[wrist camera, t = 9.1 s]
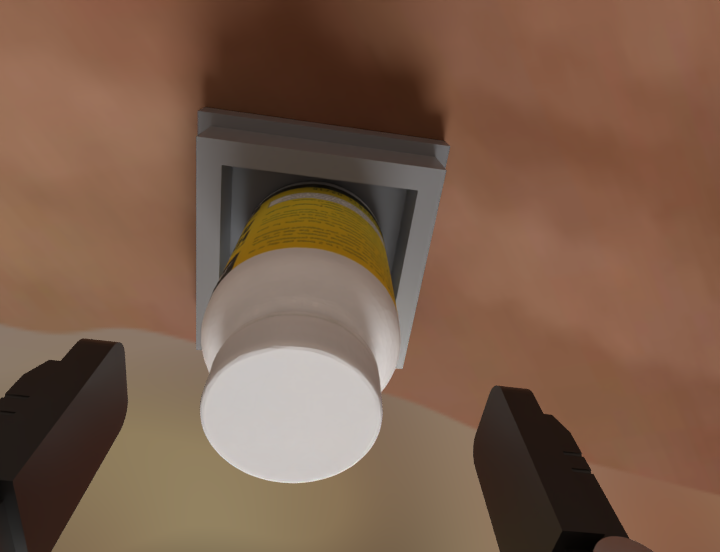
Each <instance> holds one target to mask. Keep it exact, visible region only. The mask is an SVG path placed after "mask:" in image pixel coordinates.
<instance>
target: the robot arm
mask: <svg viewBox="0 0 720 552" xmlns="http://www.w3.org/2000/svg"><path fill="white" fill-rule="evenodd" d="M127 405H128V395H127V381H126V365H125V352H124V347H123V345H122V343H120V342H111V341H102V340H93V339H81V340H79V341H78V342H77V343H76V344H75V345H74V346H73V347H72V349H71V350H70V351H69V352H68V353H67V354H66V356H65V357H64V358H63V359H62V360H61V361H55V360H48V361H47V362H45V363H43V364H41V365H39V366H38V367H36V368H34V369H32V370H31V371H29V372H27V373H25V374H24V375H23V376H22V377H21V378H20V379H19V380H18V381H17V382H16V383H15V384H14V385H13V386H12V387H11V388H10V389H9V390H8V391H7V392H6V394H5V397H4V398H1V399H0V552H51V551H52V549H53V547H54V546H55V544H56V542H57V540H58V539H59V537H60V535H61V533H62V531H63V530H64V528H65V526H66V525H67V523H68V521H69V519H70V518H71V516H72V514H73V512H74V511H75V509H76V507H77V505H78V504H79V502H80V500H81V498H82V497H83V495H84V493H85V491H86V490H87V488H88V486H89V484H90V483H91V481H92V479H93V477H94V476H95V474H96V472H97V470H98V469H99V467H100V465H101V463H102V462H103V460H104V458H105V456H106V455H107V453H108V451H109V449H110V448H111V446H112V444H113V442H114V441H115V439H116V437H117V435H118V434H119V432H120V430H121V428H122V426H123V423H124V420H125V416H126V412H127ZM581 454H582V453H581V451H580V449H579V447H578V446H577V444H576V442H575V440H574V438H573V437H572V435H571V433H570V432H569V431H568V430H567V429H566V428H565V427H564V426H563V425H562V424H561V423H560V422H559V421H558V420H557V419H556V418H555V417H553V416H552V415H548V414H543V412H542V410H541V408H540V406H539V404H538V402H537V400H536V399H535V397H534V395H533V393H532V392H531V391H530V390H529V389H522V388H513V387H504V386H494V387H493V388H492V390H491V392H490V394H489V397H488V400H487V403H486V406H485V409H484V412H483V415H482V418H481V421H480V423H479V426H478V429H477V432H476V435H475V439H474V446H473V457H474V464H475V468H476V472H477V475H478V478H479V482H480V485H481V489H482V492H483V495H484V498H485V502H486V506H487V509H488V512H489V516H490V519H491V523H492V526H493V529H494V533H495V536H496V540H497V543H498V546H499V550H500V552H653V551H652V550H650V549H649V548H647V547H646V546H644V545H642V544H640V543H638V542H636V541H633V540H631V539H629V537H628V535H627V533H626V532H625V530H624V528H623V526H622V525H621V523H620V521H619V519H618V517H617V516H616V514H615V512H614V510H613V509H612V507H611V505H610V503H609V501H608V499H607V498H606V496H605V494H604V492H603V491H602V489H601V487H600V485H599V483H598V482H597V480H596V478H595V476H594V474H591V469H590V467H589V465H588V464H587V462H586V460H585V458H584V457H582V456H581Z"/></svg>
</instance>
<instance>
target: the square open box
mask: <svg viewBox="0 0 720 552" xmlns="http://www.w3.org/2000/svg"><path fill="white" fill-rule="evenodd" d="M449 149H450V146H449V145H448V144H447V143H446V142H445V141H442V140H434V139H427V138H420V137H413V136H406V135H399V134H392V133H385V132H378V131H371V130H364V129H357V128H350V127H342V126H335V125H328V124H321V123H314V122H307V121H300V120H293V119H286V118H279V117H272V116H265V115H258V114H251V113H243V112H236V111H229V110H222V109H215V108H208V107H204V108H202V109H200V110H198V136H196V350H202V345H201V329H202V322H203V318H204V314H205V311H206V308H207V305H208V303H209V300H210V298H211V296H212V293H213V290H214V288H215V287H216V285H217V283H218V281H219V279H220V277H221V275H222V273H223V271H224V269H225V267H226V265H227V263H228V261H229V259H230V257H231V255H232V253H233V251H234V249H235V247H236V245H237V243H238V240H239V238H240V236H241V234H242V232H243V230H244V228H245V226H246V223H247V222H248V220H249V218H250V217H251V215H252V213H253V212H254V211H255V209H256V208H257V207H258V205H259V204H260V203H261V202H262V201H263V200H264V199H265V198H266V197H268V196H269V195H270V194H272V193H273V192H275V191H277V190H279V189H281V188H283V187H285V186H288V185H291V184H295V183H300V182H310V181H316V182H326V183H330V184H334V185H337V186H339V187H342V188H344V189H346V190H348V191H350V192H351V193H353V194H355V195H356V196H357V197H358V198H360V199H361V200H362V201H363V202H364V203H365V204H366V205H367V206H368V207H369V209H370V210H371V211H372V213H373V214H374V216H375V218H376V220H377V222H378V224H379V226H380V229H381V232H382V235H383V240H384V244H385V250H386V255H387V260H388V265H389V270H390V275H391V280H392V286H393V291H394V297H395V302H396V307H397V312H398V318H399V326H400V337H401V343H400V353H399V359H398V362H397V365H396V368H399V369H403V364H404V360H405V355H406V351H407V346H408V342H409V337H410V333H411V328H412V324H413V319H414V315H415V310H416V306H417V301H418V296H419V292H420V287H421V283H422V278H423V274H424V269H425V265H426V260H427V256H428V251H429V247H430V242H431V238H432V233H433V229H434V224H435V220H436V215H437V211H438V206H439V202H440V197H441V193H442V188H443V183H444V179H445V174H446V169H445V167H446V163H447V158H448V154H449Z"/></svg>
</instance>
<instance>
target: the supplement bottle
mask: <svg viewBox="0 0 720 552" xmlns="http://www.w3.org/2000/svg"><path fill="white" fill-rule="evenodd" d="M400 343H401V337H400V326H399V318H398V312H397V307H396V302H395V297H394V291H393V286H392V280H391V275H390V270H389V265H388V260H387V255H386V250H385V244H384V240H383V235H382V232H381V229H380V226H379V224H378V222H377V220H376V218H375V216H374V214H373V213H372V211H371V210H370V209H369V207H368V206H367V205H366V204H365V203H364V202H363V201H362V200H361V199H360V198H358V197H357V196H356V195H355V194H353V193H351V192H350V191H348V190H346V189H344V188H342V187H339V186H337V185H334V184H330V183H326V182H316V181H310V182H300V183H295V184H291V185H288V186H285V187H283V188H281V189H279V190H277V191H275V192H273V193H272V194H270V195H269V196H268V197H266V198H265V199H264V200H263V201H262V202H261V203H260V204H259V205H258V207H257V208H256V209H255V211H254V212H253V213H252V215H251V217H250V218H249V220H248V222H247V223H246V226H245V228H244V230H243V232H242V234H241V236H240V238H239V240H238V243H237V245H236V247H235V249H234V251H233V253H232V255H231V257H230V259H229V261H228V263H227V265H226V267H225V269H224V271H223V273H222V275H221V277H220V279H219V281H218V283H217V285H216V287H215V288H214V290H213V293H212V296H211V298H210V300H209V303H208V305H207V308H206V311H205V314H204V318H203V322H202V329H201V345H202V352H203V357H204V360H205V363H206V366H207V368H208V371H209V376H208V379H207V381H206V384H205V386H204V390H203V393H202V396H201V401H200V415H201V416H200V417H201V423H202V427H203V430H204V433H205V435H206V437H207V438H208V440H209V442H210V444H211V445H212V446H213V448H214V449H215V450H216V451H217V452H218V454H219V455H220V456H221V457H222V458H224V459H225V460H226V461H227V462H228V463H230V464H231V465H233V466H234V467H236V468H238V469H239V470H241V471H243V472H245V473H247V474H250V475H252V476H255V477H258V478H261V479H264V480H269V481H274V482H284V483H303V482H312V481H316V480H321V479H325V478H328V477H331V476H334V475H336V474H339V473H341V472H343V471H344V470H346V469H348V468H350V467H351V466H353V465H354V464H356V463H357V462H358V461H359V460H360V459H361V458H362V457H364V456H365V455H366V454H367V452H368V451H369V450H370V449H371V447H372V446H373V444H374V442H375V440H376V438H377V436H378V434H379V431H380V427H381V423H382V415H383V409H382V397H381V392H382V390H383V389H384V388H385V387H386V385H387V384H388V382H389V380H390V379H391V377H392V375H393V372H394V370H395V368H396V365H397V362H398V359H399V353H400Z"/></svg>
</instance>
